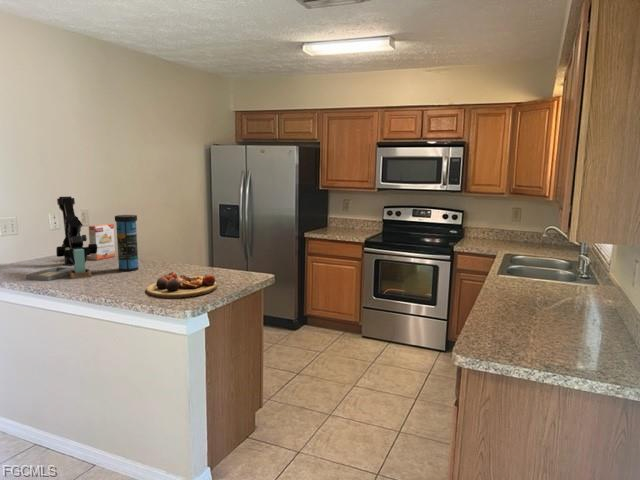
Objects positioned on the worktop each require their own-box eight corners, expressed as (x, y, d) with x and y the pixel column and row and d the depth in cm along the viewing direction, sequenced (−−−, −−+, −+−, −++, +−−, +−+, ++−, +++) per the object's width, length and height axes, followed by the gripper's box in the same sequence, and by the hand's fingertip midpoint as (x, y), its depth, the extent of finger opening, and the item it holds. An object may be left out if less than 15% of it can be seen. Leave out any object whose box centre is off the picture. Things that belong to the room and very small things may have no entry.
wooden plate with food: (228, 283, 224) (228, 267, 223) (196, 301, 194) (195, 282, 193) (171, 280, 232) (170, 264, 231) (131, 296, 201) (130, 278, 200)
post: (74, 275, 235) (72, 249, 232) (84, 274, 237) (82, 248, 235) (76, 277, 231) (74, 250, 229) (85, 276, 234) (83, 249, 231)
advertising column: (119, 267, 254) (116, 214, 249) (140, 267, 257) (138, 214, 252) (115, 272, 243) (112, 217, 238) (138, 271, 246) (135, 216, 241)
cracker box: (97, 260, 272) (94, 226, 269) (90, 259, 274) (87, 225, 271) (115, 256, 285) (113, 223, 281) (108, 255, 287) (106, 223, 284)
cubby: (69, 275, 235) (68, 270, 235) (88, 273, 240) (88, 268, 240) (71, 279, 228) (71, 274, 228) (91, 276, 233) (91, 272, 233)
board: (25, 278, 227) (25, 274, 227) (57, 270, 247) (57, 266, 246) (48, 280, 224) (48, 276, 224) (79, 271, 243) (78, 267, 243)
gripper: (55, 231, 228) (59, 256, 221) (95, 228, 239) (101, 252, 232) (54, 244, 236) (58, 268, 229) (93, 241, 246) (99, 264, 239)
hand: (79, 263), depth 232 cm, fingers closed on post, 4 cm apart
